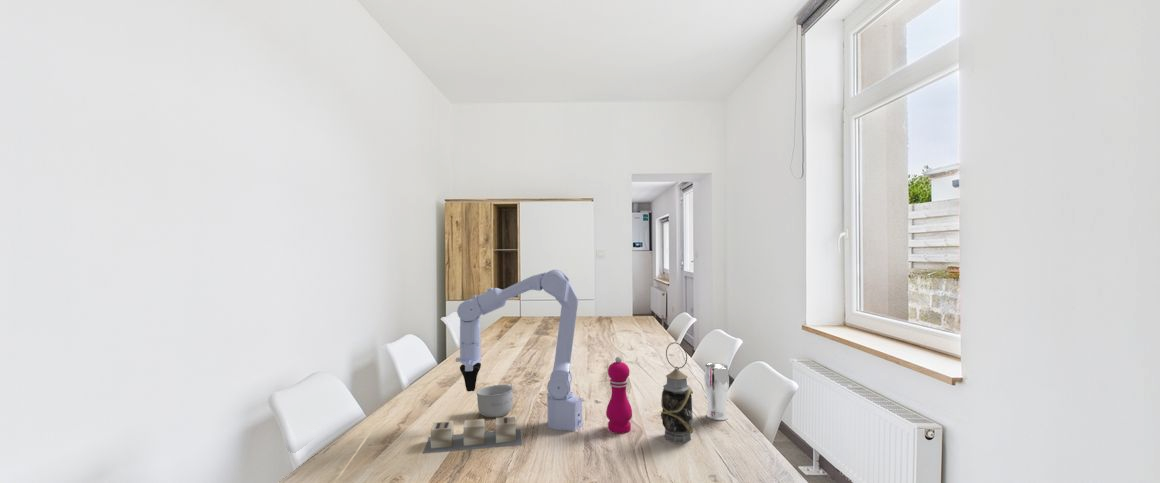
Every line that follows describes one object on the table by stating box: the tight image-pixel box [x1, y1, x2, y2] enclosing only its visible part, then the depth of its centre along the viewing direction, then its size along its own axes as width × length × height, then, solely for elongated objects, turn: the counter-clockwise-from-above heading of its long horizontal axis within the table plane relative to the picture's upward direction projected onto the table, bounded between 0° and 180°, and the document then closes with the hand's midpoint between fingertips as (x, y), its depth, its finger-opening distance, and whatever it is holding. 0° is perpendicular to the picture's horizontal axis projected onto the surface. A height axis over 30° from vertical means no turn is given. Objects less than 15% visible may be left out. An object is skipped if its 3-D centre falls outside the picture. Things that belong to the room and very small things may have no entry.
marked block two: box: [430, 421, 455, 448], centre depth 115 cm, size 5×5×5 cm
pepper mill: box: [605, 356, 633, 434], centre depth 125 cm, size 7×7×20 cm
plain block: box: [463, 418, 486, 446], centre depth 117 cm, size 5×5×4 cm
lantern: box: [660, 342, 694, 444], centre depth 119 cm, size 9×8×25 cm
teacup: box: [476, 383, 514, 419], centre depth 138 cm, size 14×11×8 cm
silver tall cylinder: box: [703, 362, 730, 421], centre depth 134 cm, size 7×7×15 cm
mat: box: [422, 429, 523, 454], centre depth 117 cm, size 24×10×1 cm, turn 100°
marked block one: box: [495, 416, 517, 443], centre depth 118 cm, size 5×5×5 cm
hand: (470, 390), depth 128 cm, fingers closed
